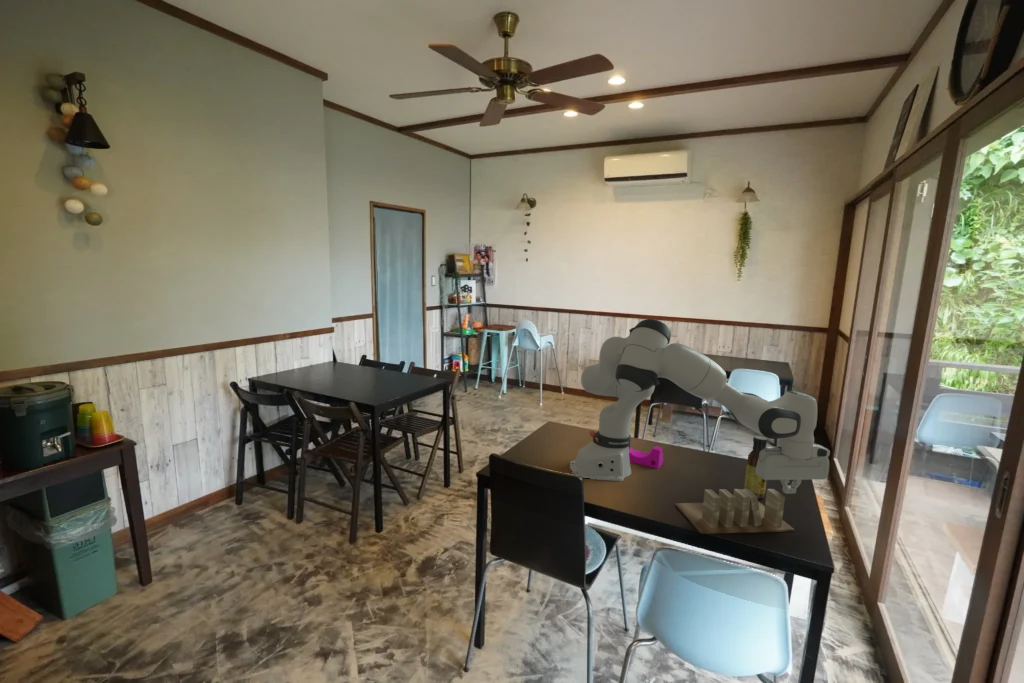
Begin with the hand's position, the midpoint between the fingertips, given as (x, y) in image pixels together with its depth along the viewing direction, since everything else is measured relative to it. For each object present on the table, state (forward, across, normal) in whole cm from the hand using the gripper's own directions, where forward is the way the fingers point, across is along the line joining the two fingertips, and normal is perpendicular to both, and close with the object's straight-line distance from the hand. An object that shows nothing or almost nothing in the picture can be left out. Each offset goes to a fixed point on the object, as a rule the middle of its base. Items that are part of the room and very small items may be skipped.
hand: (789, 492), depth 133 cm
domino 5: (+9, -4, 0) cm, 10 cm away
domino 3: (+9, -14, 0) cm, 17 cm away
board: (+10, -14, +4) cm, 18 cm away
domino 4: (+9, -10, 0) cm, 13 cm away
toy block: (+10, -27, +46) cm, 54 cm away
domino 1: (+9, -23, 0) cm, 25 cm away
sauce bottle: (+10, +2, +18) cm, 20 cm away
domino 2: (+9, -19, 0) cm, 21 cm away
